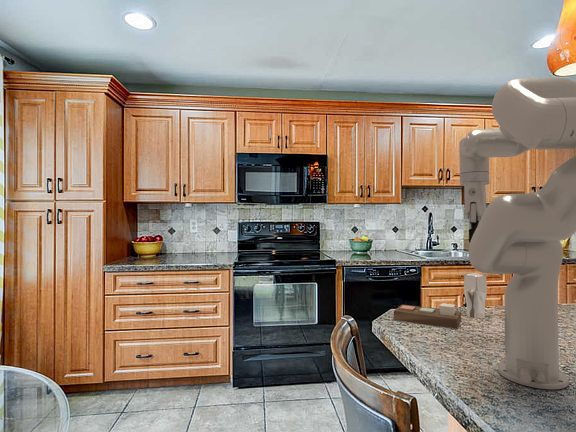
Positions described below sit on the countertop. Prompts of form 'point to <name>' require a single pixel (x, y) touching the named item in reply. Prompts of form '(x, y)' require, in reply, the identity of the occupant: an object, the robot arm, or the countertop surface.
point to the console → (428, 317)
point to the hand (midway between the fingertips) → (475, 243)
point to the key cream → (447, 309)
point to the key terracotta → (407, 308)
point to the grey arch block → (475, 294)
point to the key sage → (427, 310)
